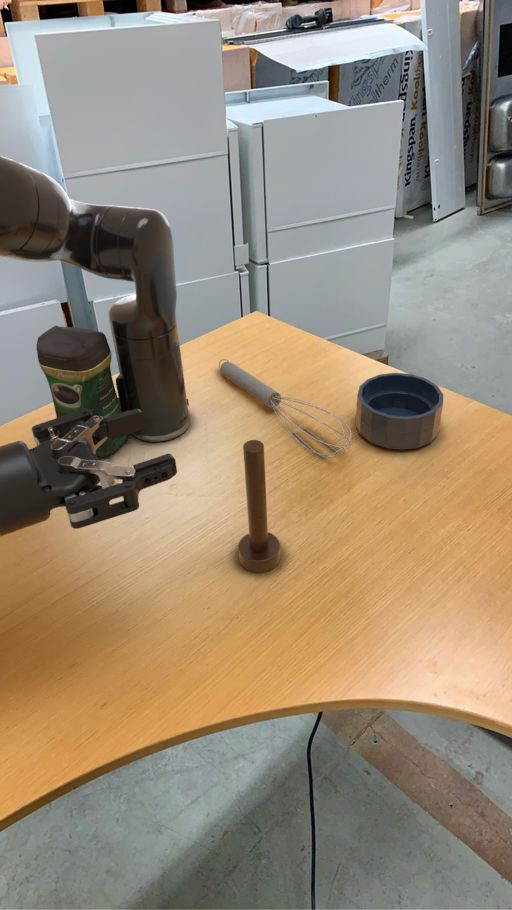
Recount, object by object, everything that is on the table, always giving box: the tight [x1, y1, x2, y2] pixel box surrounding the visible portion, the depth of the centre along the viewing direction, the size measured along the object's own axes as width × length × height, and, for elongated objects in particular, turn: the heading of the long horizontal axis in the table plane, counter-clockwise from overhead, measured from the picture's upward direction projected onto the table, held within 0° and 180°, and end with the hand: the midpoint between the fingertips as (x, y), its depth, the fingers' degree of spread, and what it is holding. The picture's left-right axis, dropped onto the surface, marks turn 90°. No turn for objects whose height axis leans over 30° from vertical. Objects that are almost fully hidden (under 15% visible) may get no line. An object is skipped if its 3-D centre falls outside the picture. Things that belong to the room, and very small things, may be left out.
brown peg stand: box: [237, 439, 281, 573], centre depth 74 cm, size 5×5×17 cm
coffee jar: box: [36, 325, 129, 458], centre depth 94 cm, size 10×8×19 cm
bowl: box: [355, 372, 444, 451], centre depth 97 cm, size 12×12×6 cm
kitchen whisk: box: [218, 359, 352, 459], centre depth 102 cm, size 6×34×6 cm, turn 34°
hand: (158, 439), depth 63 cm, fingers open, 8 cm apart
